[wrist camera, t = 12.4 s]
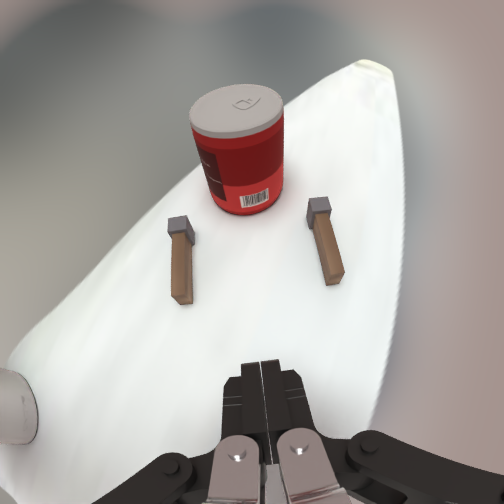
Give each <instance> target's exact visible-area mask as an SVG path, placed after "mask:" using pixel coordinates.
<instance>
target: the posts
mask: <svg viewBox="0 0 504 504" xmlns="http://www.w3.org/2000/svg"><path fill="white" fill-rule="evenodd" d="M331 210H332V209H331V206H330V203H329V200H328V197H318V198H309V202H308V209H307V216H306V218H307V221H308V225H309V229H313V224H314V219H315V214H323V213H328V215H329V218H330V214H331ZM183 232H185V234H186V236H187V238H188V240H189V242H190V244H191V245H194V230H193V228H192V226H191V224H190V222H189V220H188V218H187V215H185V216H179V217H173V218H168V233H169V235H170V237H171V238H172V234H176V233H183Z"/></svg>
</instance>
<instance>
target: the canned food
mask: <svg viewBox="0 0 504 504" xmlns="http://www.w3.org/2000/svg"><path fill="white" fill-rule="evenodd" d="M189 117H190V124H191V127H192V131H193V136H194V139H195V142H196V146H197V149H198V152H199V156H200V159H201V163H202V166H203V169H204V173H205V176H206V179H207V182H208V186H209V189H210V192H211V195H212V197H213V199H214V201H215V202H216V203H217V204H218V205H219V206H220V207H221V208H222V209H224V210H225V211H227V212H229V213H232V214H237V215H249V214H254V213H258V212H260V211H263V210H265V209H266V208H268V207H269V206H271V205H272V204H273V203H274V202H275V201H276V199H277V198H278V196H279V194H280V192H281V189H282V186H283V156H284V110H283V103H282V98H281V97H280V95H279V94H278V93H276V92H275V91H274V90H272V89H270V88H267V87H264V86H260V85H253V84H238V85H231V86H226V87H222V88H219V89H216V90H214V91H211V92H209V93H207V94H206V95H204V96H202V97H201V98H200V99H198V100H197V101H196V102H195V103H194V104H193V106H192V108H191V109H190V113H189Z"/></svg>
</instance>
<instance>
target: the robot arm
mask: <svg viewBox="0 0 504 504" xmlns="http://www.w3.org/2000/svg"><path fill="white" fill-rule="evenodd" d="M261 369H262V377H261V371H260V364H259V362H253V363H244V364H241V376H239V377H229V379H228V381H227V382H226V384H225V385H224V392H223V412H222V434H221V440H220V442H219V444H218V445H217V446H216V448H215V449H214V450H212V451H211V452H209V453H207V454H204V455H200V456H196V457H193V458H189V459H188V458H187V457H186V456H184V455H182V454H180V453H165V454H162V455H160V456H159V457H157V458H156V459H155V460H153V461H152V462H151V463H149V464H148V465H147V466H145V467H144V468H143V469H141V470H140V471H139V472H137V473H136V474H135V475H133V476H132V477H130V478H129V479H128V480H126V481H125V482H123V483H122V484H121V485H119V486H118V487H116V488H115V489H113V490H112V491H110V492H109V493H107V494H106V495H104V496H103V497H101V498H100V499H98V500H97V501H95V502H93V503H92V504H266V481H267V472H266V465H270V464H272V463H271V454H270V445H271V451H272V457H273V464H278V463H279V468H280V475H281V482H282V487H283V491H284V495H285V499H286V503H287V504H351V501H350V499H349V496H348V495H350V496H352V497H353V498H355V499H357V500H359V501H361V502H363V503H365V504H504V475H500V474H496V473H492V472H488V471H485V470H481V469H478V468H474V467H470V466H467V465H464V464H461V463H458V462H455V461H452V460H449V459H446V458H443V457H440V456H438V455H435V454H432V453H430V452H427V451H424V450H422V449H419V448H417V447H414V446H412V445H409V444H407V443H404V442H402V441H400V440H397V439H395V438H393V437H390V436H388V435H386V434H384V433H381V432H378V431H375V430H367V431H362V432H360V433H358V434H356V435H355V436H353V437H352V438H351V439H332V438H328V437H325V436H323V435H322V434H320V433H319V432H318V431H317V430H316V428H315V426H314V423H313V419H312V416H311V412H310V408H309V405H308V401H307V397H306V394H305V390H304V386H303V383H302V379H301V377H300V376H299V375H298V374H297V373H296V372H295V371H294V370H287V371H281V368H280V363H279V359H276V360H268V361H261ZM262 378H263V384H262ZM263 387H264V392H263ZM264 396H265V400H264ZM265 405H266V409H265ZM266 414H267V418H266ZM267 423H268V427H267ZM36 430H37V409H36V404H35V400H34V397H33V394H32V391H31V389H30V387H29V385H28V383H27V382H26V381H25V379H24V378H23V377H22V376H21V375H20V374H18V373H16V372H13V371H9V370H6V369H2V368H0V444H27V443H29V442H31V441H32V440H33V438H34V436H35V434H36ZM268 432H269V436H268ZM269 438H270V445H269Z"/></svg>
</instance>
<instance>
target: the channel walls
mask: <svg viewBox="0 0 504 504" xmlns="http://www.w3.org/2000/svg"><path fill="white" fill-rule="evenodd" d="M313 233H314V237H315V241H316V245H317V249H318V253H319V257H320V261H321V265H322V269H323V274H324V278H325V282H326V286H327V285H333V284H339V282H340V281H341V279H342V277H343V275H344V273H345V271H344V267H343V263H342V260H341V256H340V252H339V249H338V245H337V242H336V238H335V235H334V232H333V228H332V225H331V222H330V218H329V215H328V213H323V214H315V219H314V224H313ZM171 296H172V297H173V298H174V299H175V300H176V301H177V302H178V303H179V304H180V305H184V304H193V293H192V245H191V244H190V242H189V240H188V238H187V236H186V234H185V232H183V233H176V234H172V257H171Z"/></svg>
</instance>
